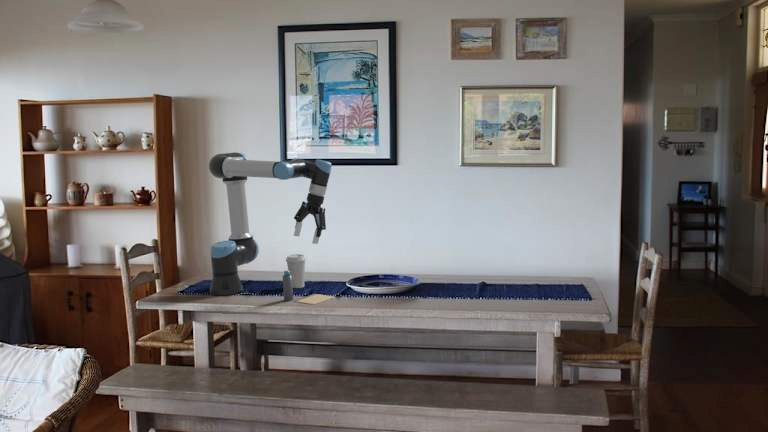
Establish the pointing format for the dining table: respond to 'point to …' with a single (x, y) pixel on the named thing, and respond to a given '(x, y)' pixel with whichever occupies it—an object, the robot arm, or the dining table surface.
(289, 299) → the grey bottle
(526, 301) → the dining table surface
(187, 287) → the dining table surface
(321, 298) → the notepad
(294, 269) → the coffee cup
